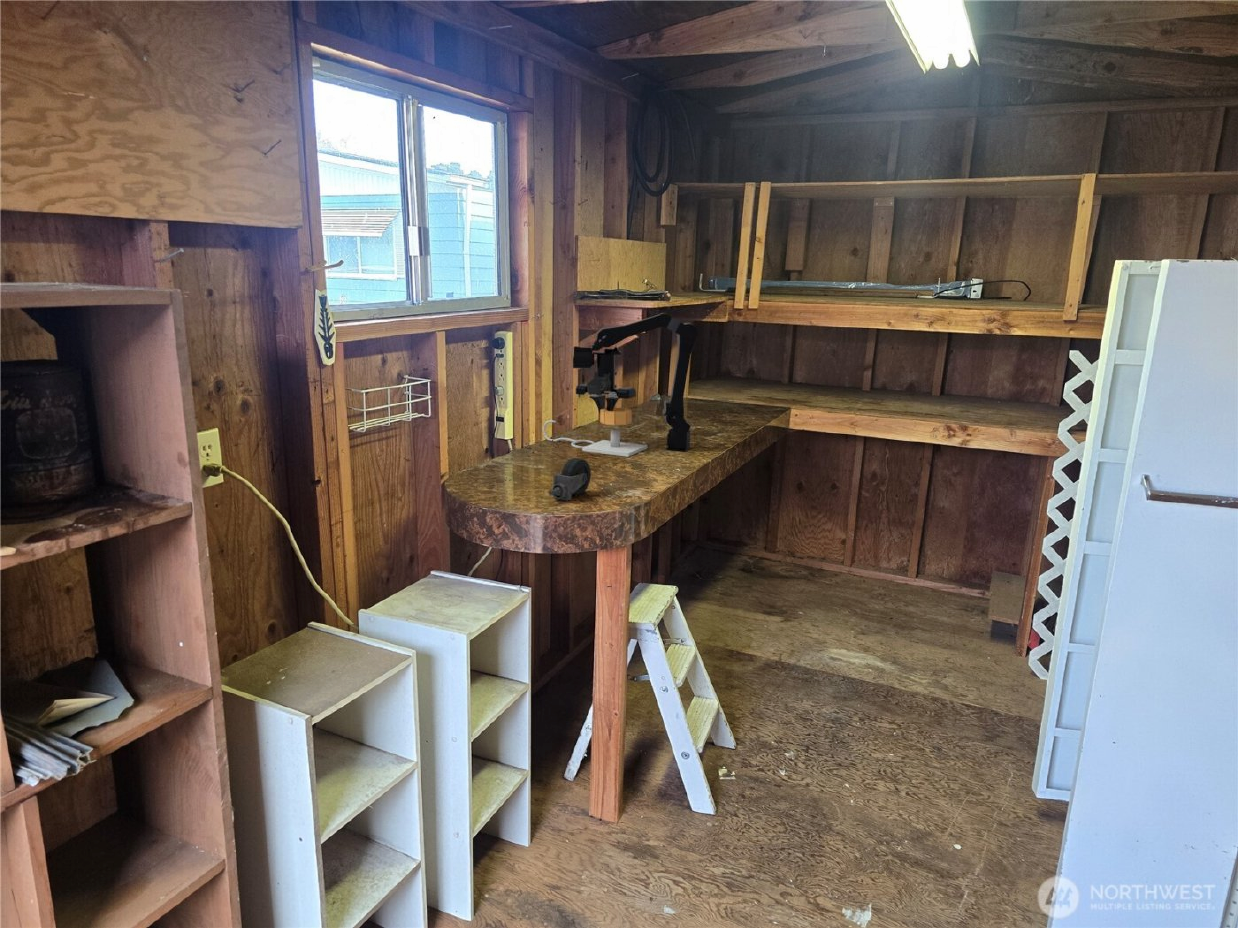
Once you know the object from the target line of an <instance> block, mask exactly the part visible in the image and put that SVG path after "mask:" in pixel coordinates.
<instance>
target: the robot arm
mask: <svg viewBox="0 0 1238 928" xmlns="http://www.w3.org/2000/svg"><path fill="white" fill-rule="evenodd" d="M662 327H663V328H666V329H668V330H669V331H671V332H674V333H675V334H676V335H677V337H676V338H677V339H676V341H677V355H676V356H677V357H676V363H675V368H674V374H673V375H674V376H673V381H672V386H671V387H672V388H671V393H670V396H669V399H668V400H666V399H665V400H663V409H662V411H661V413H662V414H663V417H664V420H665V422H666V424H668V426H670V427H671V428H670V429H668V433H666V437H667V438H666V447H665V450H670V451H671V450H672V451H680V452H686V451H688V450H690V449H692V448H693V447H692V446H691V444H690V443H691V427H692V426H691V425H690V423H689V421H687V420H686V418H685V406H684V395H685V391H686V390H685V389H686V384H687V383H686V382H687V379H688V377H687V376H688V372H689V371H688V370H689V365H690V360H691V354H692V352H693V350H694V347H695V345H696V343H697V339H698V336H699V330H698V328H697V327H696V326H695V324H692V323H690V322H681V321H679V320H677V319H675V318H673V317H672V316H670V314H668V313H666V312H661V313H659V314H656V315H654V316H651V317H646V318H644V319H641V320H637V321H633V322H630V323H627V324H624V325H616V326H607V327H602V328H599V330H598V331H597V333H596V340H595V341H594V342H593V343H592V344H591V346H579V345H576V346H573V356H572V369H580V370H581V369H588V370H589V369H592V367H593V366H595V355H596V371H594V375H593V378H592V379H591V380H590V381H589V382H587V383H581V384H578V385H577V386H576V387H575V395H580V396H583V395H586V393H588V395H589V396H588V397H589V399H591V400H593V401H594V403H595V405H596V407H597V410H598V412H599V414H600V410H601V409H604V408H607V411H613V409H614V408H615V406H616V404H617V403H618V401H619V400H620V399H625V400H628V399H631V398H635V397H636V396H637V391H636V389H635V387H628V386H627V387H626V386H623V387H619V388H617V384H616V381H615V379H616V376H617V373H618V372H617V371H616V355H621V354H622V352H621V351H620V350H619V348H618V346H616V345H617V344H618V343H620V342H622V341H623V340H626V339H627V338H630V337H632V336H637V335H640V334H643V333H646V332H649V331H652V330H655V329H658V328H662ZM614 345H615V346H614ZM612 346H614V347H613V348H611V347H612ZM603 348H604V349H603ZM601 349H603V351H600V350H601ZM606 395H608V397H606Z"/></svg>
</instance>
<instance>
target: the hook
mask: <svg viewBox="0 0 1238 928" xmlns="http://www.w3.org/2000/svg"><path fill="white" fill-rule="evenodd" d="M551 423H557V421H556V420H552V419H551V420H550V419H549V420H547V421H545V422H544V424H543V427H542V433H543V436H544V438H545V439H546V440H548V441H552V440H553V442H559V441H568V442H571V444H570V445H571V446H572V447H573V448H576V449H582V448H583V447H584V446H580V445H577V444H579V443H587V444H594V443H596V442H595V441H593V440H588V439H579V440H578V439H572V438H569V437H559V438H555V439H551V438H549V437H548V435H547V433H546V428H547V425H548V424H551Z"/></svg>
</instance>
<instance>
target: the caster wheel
mask: <svg viewBox="0 0 1238 928" xmlns="http://www.w3.org/2000/svg"><path fill="white" fill-rule="evenodd" d="M591 472H592V471H591V467H590V465H589V462H588V461H587V460H585V459H583V458H578V457H572V458H570V459H568V460H567V461H566V462H565V463H564V465H563V468H562V470H561V472H560V473H557V474H553V481H552V489H551V490H549V491H548V495H549V496H552V495H553V498H554V499H555V498H557V499H556V500H560V499H562V500H561V501H565V500H566V502H569V501H572V496H573V495H574V496H580V495H582V494H584V493H586V491H587V489H588V487H589V484H590V482H591V475H592V473H591ZM568 500H569V501H568Z"/></svg>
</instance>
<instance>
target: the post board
mask: <svg viewBox="0 0 1238 928" xmlns="http://www.w3.org/2000/svg"><path fill="white" fill-rule="evenodd" d="M582 447H583V448H581V450H582V452H589V453H597V454H603V455H604V454H605V455H612V456H613V455H614V456H621V457H627V458H628V457H631V456H633V455H636V454H637V453H641V452H642V451H644V450H647V449H648V445H647V444H640V443H632V442H623V441H621V429H620V428H616V427H615V428H610V440H606V439H602V440H600V441H597V442H595V443H594V444H592V443H590V444H589V445H585V446H582Z"/></svg>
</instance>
